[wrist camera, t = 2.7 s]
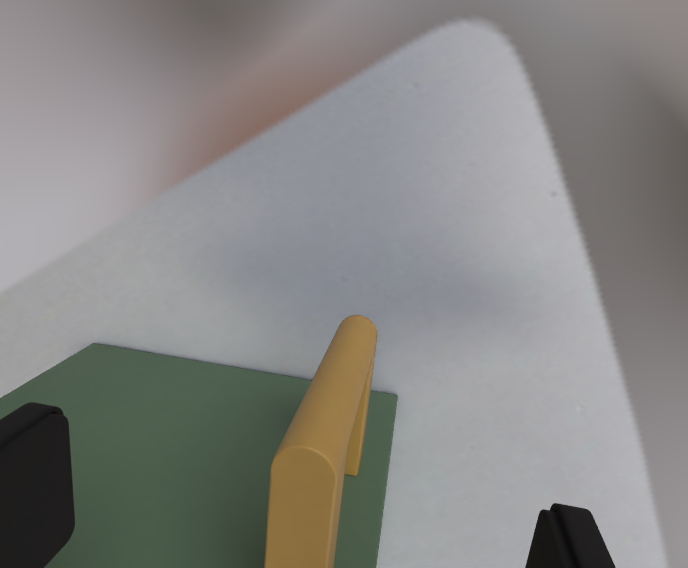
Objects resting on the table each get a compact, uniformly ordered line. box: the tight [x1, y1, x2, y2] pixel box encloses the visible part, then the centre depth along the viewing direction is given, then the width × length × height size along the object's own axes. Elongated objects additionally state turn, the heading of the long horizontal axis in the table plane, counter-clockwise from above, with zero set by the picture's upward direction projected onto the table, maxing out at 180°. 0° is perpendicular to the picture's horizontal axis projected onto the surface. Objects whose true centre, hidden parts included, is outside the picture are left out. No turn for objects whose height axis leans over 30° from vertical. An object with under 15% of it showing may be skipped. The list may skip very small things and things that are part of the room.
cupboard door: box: [0, 315, 398, 568], centre depth 19 cm, size 7×18×16 cm, turn 84°
